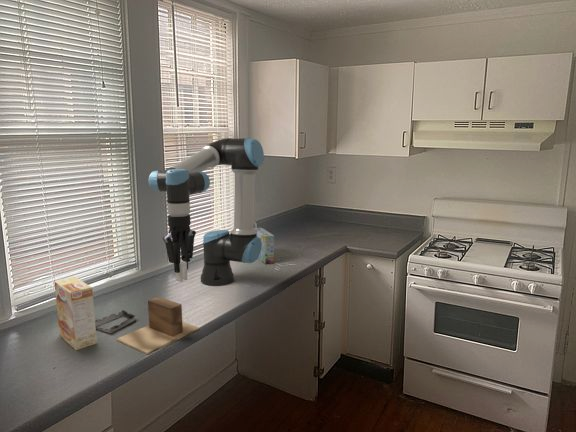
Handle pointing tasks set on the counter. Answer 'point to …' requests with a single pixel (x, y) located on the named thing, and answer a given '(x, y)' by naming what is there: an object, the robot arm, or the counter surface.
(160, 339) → the light wood board
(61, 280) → the coffeecake box
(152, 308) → the walnut slab
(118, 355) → the counter surface
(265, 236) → the snack box
